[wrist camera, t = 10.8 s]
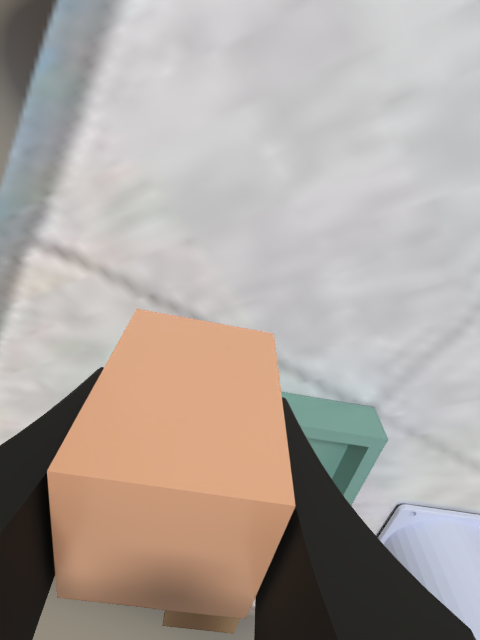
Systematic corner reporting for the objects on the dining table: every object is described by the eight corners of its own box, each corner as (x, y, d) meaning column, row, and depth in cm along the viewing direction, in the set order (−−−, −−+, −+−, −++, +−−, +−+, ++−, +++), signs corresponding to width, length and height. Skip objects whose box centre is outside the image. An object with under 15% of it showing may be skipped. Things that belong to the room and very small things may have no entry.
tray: (374, 407, 22) (388, 439, 20) (301, 552, 30) (305, 587, 28) (106, 363, 21) (90, 392, 19) (102, 527, 29) (90, 561, 27)
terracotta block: (273, 333, 12) (295, 506, 7) (245, 430, 14) (245, 619, 9) (136, 308, 12) (47, 471, 6) (129, 412, 14) (56, 597, 8)
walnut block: (248, 500, 26) (248, 598, 21) (235, 536, 28) (233, 633, 23) (185, 491, 26) (170, 589, 20) (178, 528, 28) (162, 625, 23)
